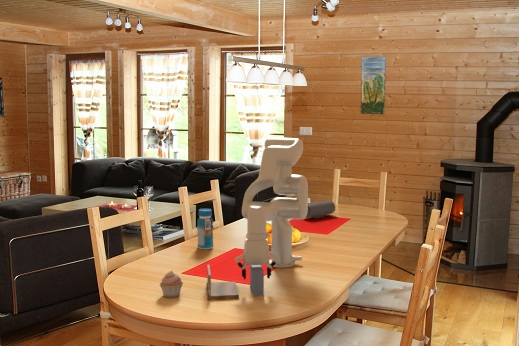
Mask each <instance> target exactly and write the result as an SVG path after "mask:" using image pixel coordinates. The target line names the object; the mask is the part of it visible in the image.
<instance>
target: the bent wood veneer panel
mask: <svg viewBox="0 0 519 346" xmlns="http://www.w3.org/2000/svg"><path fill="white" fill-rule="evenodd" d="M206 266H207V267H206V269H207V270H206V271H207V273H206V274H207V281H206V285H205V286H206V295H207V300H208V301H212V300H214V301H215V300H235V299H236V300H237V299H240V294H239V290H238V287H237V283H236V281H220V282H219V281H217V282H212V277H211V274H212V273H211V269H210V268H211V267H210V264H207V265H206Z"/></svg>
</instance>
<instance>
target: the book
mask: <svg viewBox="0 0 519 346" xmlns="http://www.w3.org/2000/svg"><path fill="white" fill-rule="evenodd" d="M249 266H250V267H249V274H250V275H249V278H250V279H249V282H250V283H249V287H250V289H251V292H252V296H253V297H264V292H265V291H264V289H265V287H264V285H265V277H264V276H265V275H264V274H265V272H264V269H263V267H262V266H263V265H249Z"/></svg>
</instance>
